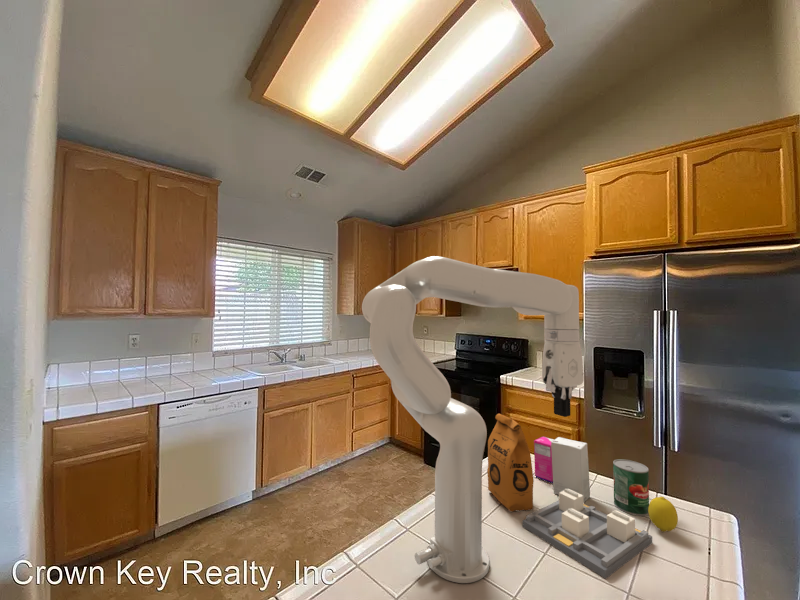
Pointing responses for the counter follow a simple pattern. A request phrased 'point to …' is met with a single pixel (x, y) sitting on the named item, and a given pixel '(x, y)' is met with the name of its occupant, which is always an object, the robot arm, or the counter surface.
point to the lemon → (663, 514)
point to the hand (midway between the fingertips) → (562, 414)
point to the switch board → (586, 539)
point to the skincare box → (570, 466)
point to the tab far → (570, 500)
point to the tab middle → (575, 522)
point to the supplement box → (543, 459)
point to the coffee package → (510, 465)
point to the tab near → (620, 526)
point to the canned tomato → (631, 487)
